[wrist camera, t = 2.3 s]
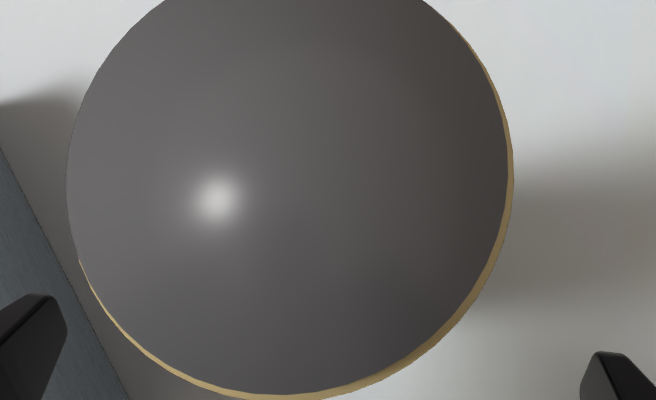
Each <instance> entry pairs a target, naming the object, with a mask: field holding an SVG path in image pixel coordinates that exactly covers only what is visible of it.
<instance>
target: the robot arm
mask: <svg viewBox="0 0 656 400" xmlns="http://www.w3.org/2000/svg"><path fill="white" fill-rule="evenodd" d="M67 333H68V329H67V324H66V321H65V319H64V316H63V314H62V311H61V309H60V306H59V304H58V301H57V299H56V298H55V297H54V296H53V295H51V294H43V293H28V294H26V295H24V296H22V297H20V298H19V299H17V300H15V301H14V302H12V303H10V304H9V305H7V306H5V307H4V308H2V309H0V400H42V397H43V395H44V393H45V390H46V388H47V385H48V383H49V380H50V378H51V376H52V373H53V371H54V368H55V366H56V363H57V361H58V359H59V356H60V354H61V351H62V349H63V346H64V344H65V342H66V339H67ZM580 400H656V387H655V386H654V384H653V383H652V382H651V381H650V380H649V379H648V378H647V377H646V376H645V375H644V374H643V373H642V372H641V371H640V370H639V369H638V368H637V367H636V366H635V364H634V363H633V362H632V361H631V360H630V359H629V358H628V357H626V356H625V355H623V354H620V353H613V352H603V351H598V352H596V353H594V354H593V356H592V358H591V360H590V363H589V365H588V367H587V370H586V372H585V374H584V377H583V379H582V381H581V384H580Z"/></svg>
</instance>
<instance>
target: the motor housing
mask: <svg viewBox="0 0 656 400" xmlns="http://www.w3.org/2000/svg"><path fill="white" fill-rule="evenodd" d="M28 293H43V294H51V295H53V296H54V297H55V298H56V299H57V301H58V304H59V306H60V309H61V311H62V314H63V316H64V319H65V321H66V324H67V329H68V333H67V339H66V342H65V344H64V346H63V349H62V351H61V354H60V356H59V359H58V361H57V363H56V366H55V368H54V371H53V373H52V376H51V378H50V380H49V383H48V385H47V388H46V390H45V393H44V395H43V397H42V400H129V398H128V396H127V394H126V392H125V390H124V388H123V387H122V385H121V383H120V381H119V379H118V377H117V375H116V373H115V371H114V369H113V367H112V365H111V363H110V361H109V359H108V357H107V355H106V354H105V352H104V350H103V348H102V346H101V344H100V342H99V340H98V338H97V336H96V334H95V332H94V330H93V328H92V326H91V324H90V322H89V320H88V319H87V317H86V315H85V313H84V311H83V309H82V307H81V305H80V303H79V301H78V299H77V297H76V295H75V293H74V291H73V289H72V287H71V285H70V284H69V282H68V280H67V278H66V276H65V274H64V272H63V270H62V268H61V266H60V264H59V262H58V260H57V258H56V256H55V254H54V252H53V250H52V249H51V247H50V245H49V243H48V241H47V239H46V237H45V235H44V233H43V231H42V229H41V227H40V225H39V223H38V221H37V219H36V217H35V216H34V214H33V212H32V210H31V208H30V206H29V204H28V202H27V200H26V198H25V196H24V194H23V192H22V190H21V188H20V186H19V184H18V182H17V181H16V179H15V177H14V175H13V173H12V171H11V169H10V167H9V165H8V163H7V161H6V159H5V157H4V155H3V153H2V151H1V149H0V309H2V308H4V307H5V306H7V305H9V304H10V303H12V302H14V301H15V300H17V299H19V298H20V297H22V296H24V295H26V294H28Z"/></svg>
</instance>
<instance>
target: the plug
mask: <svg viewBox="0 0 656 400" xmlns="http://www.w3.org/2000/svg"><path fill="white" fill-rule="evenodd" d="M513 186H514V169H513V150H512V144H511V138H510V133H509V127H508V122H507V119H506V116H505V113H504V110H503V107H502V104H501V101H500V97H499V95H498V93H497V90H496V88H495V86H494V84H493V82H492V80H491V78H490V76H489V74H488V72H487V70H486V68H485V67H484V65H483V64H482V62H481V61H480V59H479V58H478V56H477V55H476V53H475V52H474V50H473V49H472V47H471V46H470V45H469V43H468V42H467V41H466V40H465V39H464V38H463V37H462V35H461V34H460V33H459V32H458V31H457V30H456V29H455V27H454V26H453V25H452V24H451V23H450V22H448V21H447V20H446V19H445V18H444V17H443V16H442V15H440V14H439V13H438V12H437V11H436V10H435V9H433V8H432V7H431V6H430V5H428V4H427V3H426V2H424V1H423V0H165V1H163V2H162V3H161V4H159V5H158V6H156V7H155V8H154V9H152V10H151V11H150V12H149V13H147V14H146V15H145V16H144V17H143V18H142V19H141V20H140V21H139V22H137V23H136V24H135V25H134V26H133V27H132V28H131V29H130V30H129V31H128V32H127V33H126V35H125V36H124V37H123V38H122V39H121V40H120V41H119V43H118V44H117V45H116V46H115V47H114V48H113V50H112V51H111V52H110V54H109V55H108V57H107V58H106V60H105V61H104V63H103V64H102V66H101V67H100V68H99V70H98V71H97V73H96V75H95V77H94V79H93V81H92V83H91V85H90V87H89V89H88V90H87V92H86V94H85V96H84V99H83V102H82V104H81V107H80V110H79V112H78V115H77V118H76V120H75V124H74V128H73V132H72V136H71V141H70V145H69V150H68V159H67V168H66V205H67V212H68V219H69V225H70V231H71V235H72V238H73V242H74V245H75V249H76V252H77V256H78V259H79V262H80V265H81V267H82V269H83V272H84V274H85V276H86V278H87V281H88V283H89V285H90V288H91V290H92V291H93V293H94V294H95V296H96V298H97V299H98V301H99V303H100V304H101V306H102V307H103V309H104V311H105V312H106V314H107V315H108V316H109V317H110V319H111V320H112V321H113V322H114V324H115V325H116V326H117V327H118V328H119V330H120V331H121V332H122V333H123V334H124V336H125V337H126V338H128V339H129V340H130V341H131V342H132V343H133V344H134V345H135V346H136V347H137V348H138V349H139V350H141V351H142V352H143V353H144V354H145V355H146V356H147V357H149V358H150V359H152V360H153V361H155V362H156V363H158V364H159V365H160V366H162V367H163V368H165V369H166V370H168V371H169V372H171V373H173V374H175V375H177V376H179V377H181V378H183V379H185V380H187V381H189V382H191V383H193V384H195V385H197V386H199V387H202V388H205V389H208V390H211V391H214V392H217V393H220V394H223V395H226V396H231V397H236V398H241V399H247V400H321V399H325V398H330V397H334V396H338V395H342V394H346V393H350V392H353V391H356V390H359V389H361V388H364V387H366V386H369V385H371V384H374V383H376V382H379V381H382V380H383V379H385V378H387V377H389V376H390V375H392V374H394V373H396V372H398V371H399V370H401V369H403V368H405V367H407V366H408V365H410V364H411V363H413V362H414V361H415V360H417V359H418V358H419V357H421V356H422V355H423V354H424V353H426V352H427V351H428V350H430V349H431V348H432V347H434V346H435V345H436V344H437V343H438V342H439V341H440V340H441V339H442V338H443V337H444V336H445V335H446V334H447V333H448V332H449V331H450V330H451V329H452V328H453V327H454V326H455V325H456V324H457V323H458V322H459V321H460V319H461V318H462V317H463V315H464V314H465V313H466V311H467V310H468V309H469V307H470V306H471V305H472V303H473V302H474V301H475V300H476V298H477V297H478V295H479V293H480V291H481V290H482V288H483V286H484V284H485V282H486V281H487V279H488V277H489V275H490V274H491V272H492V270H493V267H494V265H495V262H496V260H497V257H498V255H499V252H500V250H501V247H502V244H503V242H504V238H505V234H506V230H507V226H508V222H509V218H510V213H511V206H512V196H513Z"/></svg>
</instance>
